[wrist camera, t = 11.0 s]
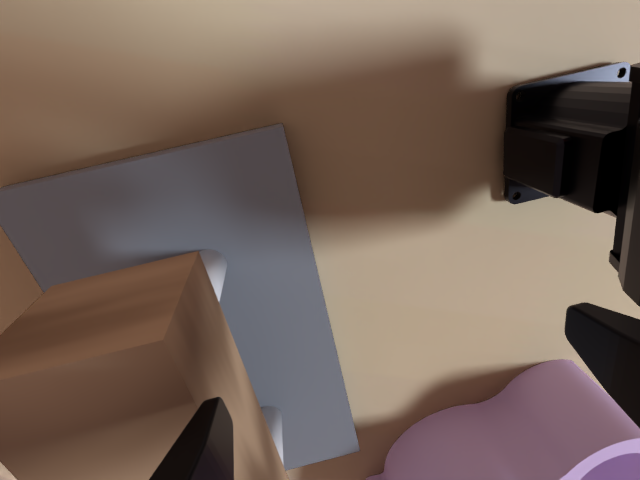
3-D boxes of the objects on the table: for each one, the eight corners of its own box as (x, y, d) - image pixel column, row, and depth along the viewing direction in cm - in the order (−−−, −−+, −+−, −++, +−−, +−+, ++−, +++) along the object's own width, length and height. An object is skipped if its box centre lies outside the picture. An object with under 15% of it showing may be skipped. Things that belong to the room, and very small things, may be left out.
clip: (549, 329, 27) (634, 406, 21) (605, 407, 32) (689, 489, 25) (344, 469, 30) (364, 571, 24) (423, 520, 35) (457, 616, 29)
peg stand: (282, 122, 18) (288, 145, 12) (355, 433, 28) (378, 526, 23) (3, 186, 18) (-130, 241, 12) (181, 478, 28) (158, 585, 22)
